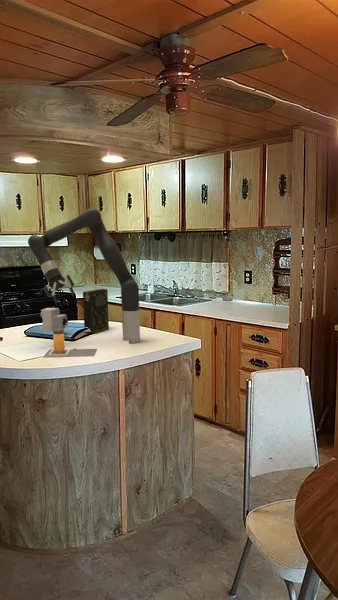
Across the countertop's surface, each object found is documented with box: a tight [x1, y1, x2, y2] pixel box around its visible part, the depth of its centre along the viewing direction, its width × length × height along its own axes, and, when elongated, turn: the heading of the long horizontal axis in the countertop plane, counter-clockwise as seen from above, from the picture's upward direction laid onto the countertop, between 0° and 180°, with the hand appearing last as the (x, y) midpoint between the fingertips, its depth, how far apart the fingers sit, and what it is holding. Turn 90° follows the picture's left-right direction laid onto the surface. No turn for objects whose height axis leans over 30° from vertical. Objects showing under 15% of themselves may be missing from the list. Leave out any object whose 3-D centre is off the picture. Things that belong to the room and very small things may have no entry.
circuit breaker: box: [40, 307, 69, 332], centre depth 269 cm, size 8×14×15 cm, turn 78°
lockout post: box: [52, 328, 66, 354], centre depth 219 cm, size 5×5×12 cm
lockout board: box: [42, 347, 98, 359], centre depth 222 cm, size 24×14×3 cm, turn 92°
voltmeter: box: [82, 288, 110, 335], centre depth 275 cm, size 16×9×25 cm, turn 148°
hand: (65, 298), depth 233 cm, fingers open, 8 cm apart
